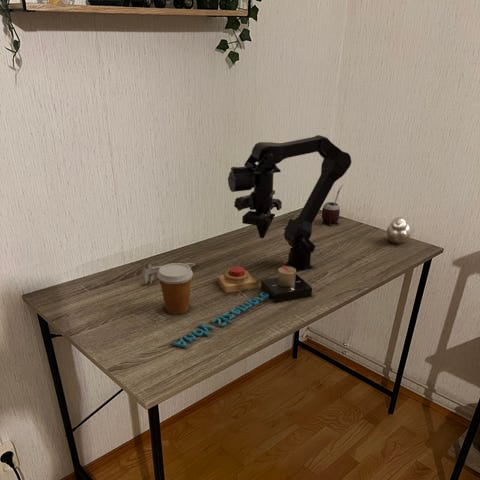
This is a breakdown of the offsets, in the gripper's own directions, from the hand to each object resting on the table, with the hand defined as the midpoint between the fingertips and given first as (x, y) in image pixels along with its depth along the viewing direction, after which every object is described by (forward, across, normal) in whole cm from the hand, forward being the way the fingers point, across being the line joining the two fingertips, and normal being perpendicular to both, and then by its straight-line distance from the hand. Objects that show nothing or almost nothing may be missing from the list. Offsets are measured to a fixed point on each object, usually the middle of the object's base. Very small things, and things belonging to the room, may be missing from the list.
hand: (262, 237), depth 154 cm
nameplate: (+12, +32, +2) cm, 35 cm away
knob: (+9, +10, +12) cm, 18 cm away
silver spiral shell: (+13, -45, +37) cm, 60 cm away
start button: (+8, +12, -4) cm, 15 cm away
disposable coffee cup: (+12, +32, -13) cm, 37 cm away
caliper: (+12, +14, -26) cm, 31 cm away
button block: (+12, +12, -4) cm, 17 cm away
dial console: (+12, +10, +12) cm, 20 cm away
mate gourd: (+12, -57, +9) cm, 59 cm away
